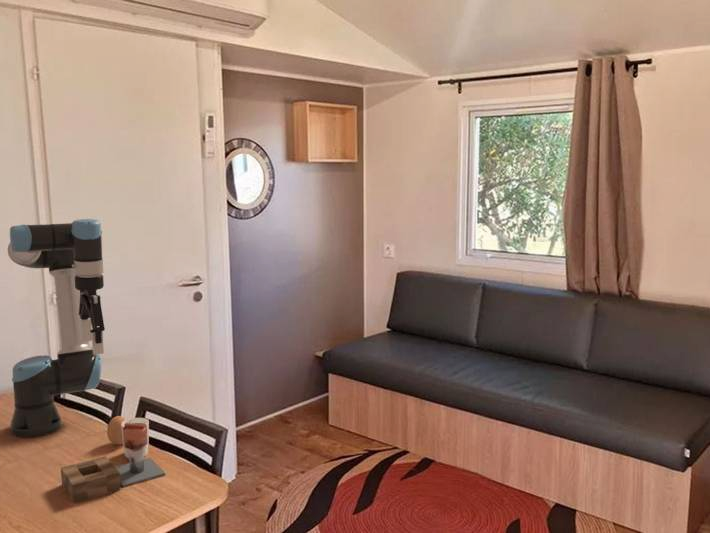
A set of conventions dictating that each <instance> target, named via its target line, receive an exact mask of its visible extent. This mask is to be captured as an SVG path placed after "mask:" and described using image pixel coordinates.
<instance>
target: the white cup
mask: <svg viewBox="0 0 710 533" xmlns="http://www.w3.org/2000/svg"><path fill="white" fill-rule="evenodd" d="M126 423H131V424H132V423H144V424H146V425H147V439H148V443H147V445H146V446H144V447H143V449H144V457H145V456H147V455H148V453H149V439H150V432H149V431H150V430H149V429H150V426H149V425H150V421H149V419H147V418H145V417H132V418H129V419H125V421H124V422H122V424H121V427H122V438H123V427H124V424H126ZM122 445H123V450H124V457H125V458H127V459H129V449H127V448H125V447H124V438H123V444H122Z"/></svg>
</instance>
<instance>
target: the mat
mask: <svg viewBox="0 0 710 533" xmlns="http://www.w3.org/2000/svg"><path fill="white" fill-rule="evenodd" d="M115 468H116V469H117V470H118V471H119V472H120V486H121V487H122V488H125V487H128V486H129V487H130V486H132V485H135V484H138V483H139V484H140V483H142V482H147V481H149V480H152V479H156V478H160V477H163V476H166V472H165V471H164V470H163V469H162V468H161V467H160V466H159V464H157V463H156V462H155V461H154V460H153V458H151V457H147V458H144V471H143V472H142V473H138V474H132V473H130V467H129V462H128V463H125V464H120V465H117V466H115Z"/></svg>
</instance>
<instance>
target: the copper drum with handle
mask: <svg viewBox="0 0 710 533" xmlns="http://www.w3.org/2000/svg"><path fill="white" fill-rule="evenodd" d="M123 438H124V446H123V448H124V447H125V448H127V449H129V458H128V463H129V467H130V473H132V474H138V473H142V472H143V471H144V459H145V456H144V449H143V447H144V446H146V445H147V443H148V442H149V441H148V439H147V425H146V424H144V423H132V424H131V423H126V424H124V427H123Z"/></svg>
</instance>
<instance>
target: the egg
mask: <svg viewBox="0 0 710 533" xmlns="http://www.w3.org/2000/svg"><path fill="white" fill-rule="evenodd" d="M125 420H126V418H124V417H123V416H121V415H117V416H115V417H113V418H112V419H111V420H110V421H109V423H108V425H107V429H106V430H107V432H106V435H107V438H108V440H109V441H110V443H111V444H113V445H116V446H118V445H123V438H122V427H121V424H122V422H124V421H125Z"/></svg>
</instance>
